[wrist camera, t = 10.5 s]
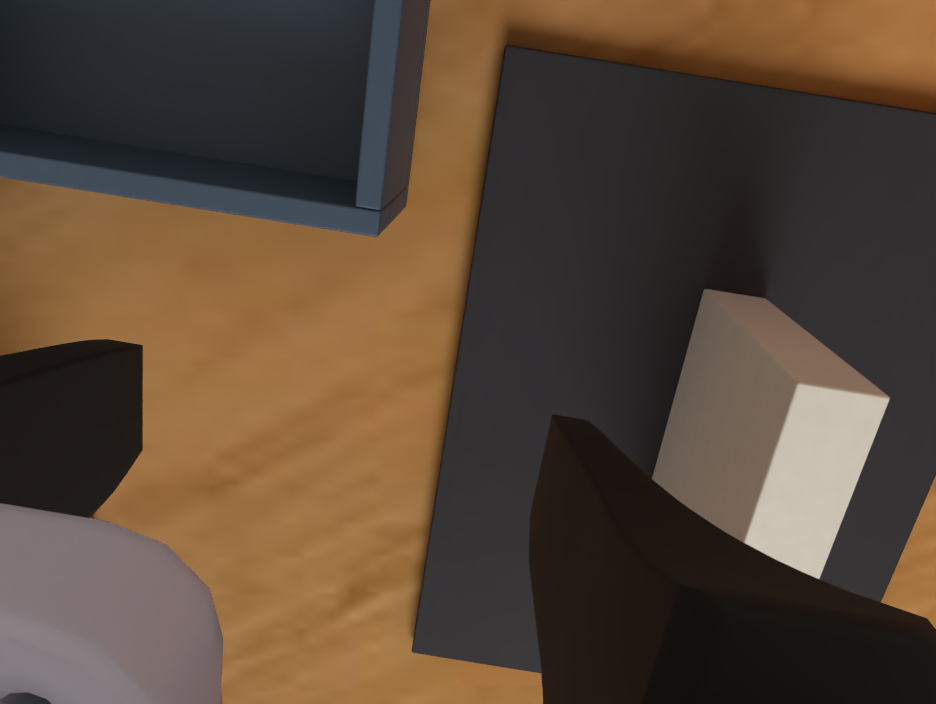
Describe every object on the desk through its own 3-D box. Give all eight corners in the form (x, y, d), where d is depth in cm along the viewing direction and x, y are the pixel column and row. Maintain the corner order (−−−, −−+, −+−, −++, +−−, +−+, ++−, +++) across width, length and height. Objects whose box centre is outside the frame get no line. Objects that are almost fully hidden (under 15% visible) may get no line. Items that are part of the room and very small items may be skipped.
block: (685, 560, 23) (755, 745, 17) (631, 552, 23) (679, 733, 17) (766, 298, 20) (891, 397, 13) (703, 288, 20) (798, 381, 13)
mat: (824, 708, 26) (830, 720, 25) (413, 642, 26) (411, 653, 25) (1069, 135, 19) (1083, 136, 18) (505, 45, 19) (505, 44, 18)
